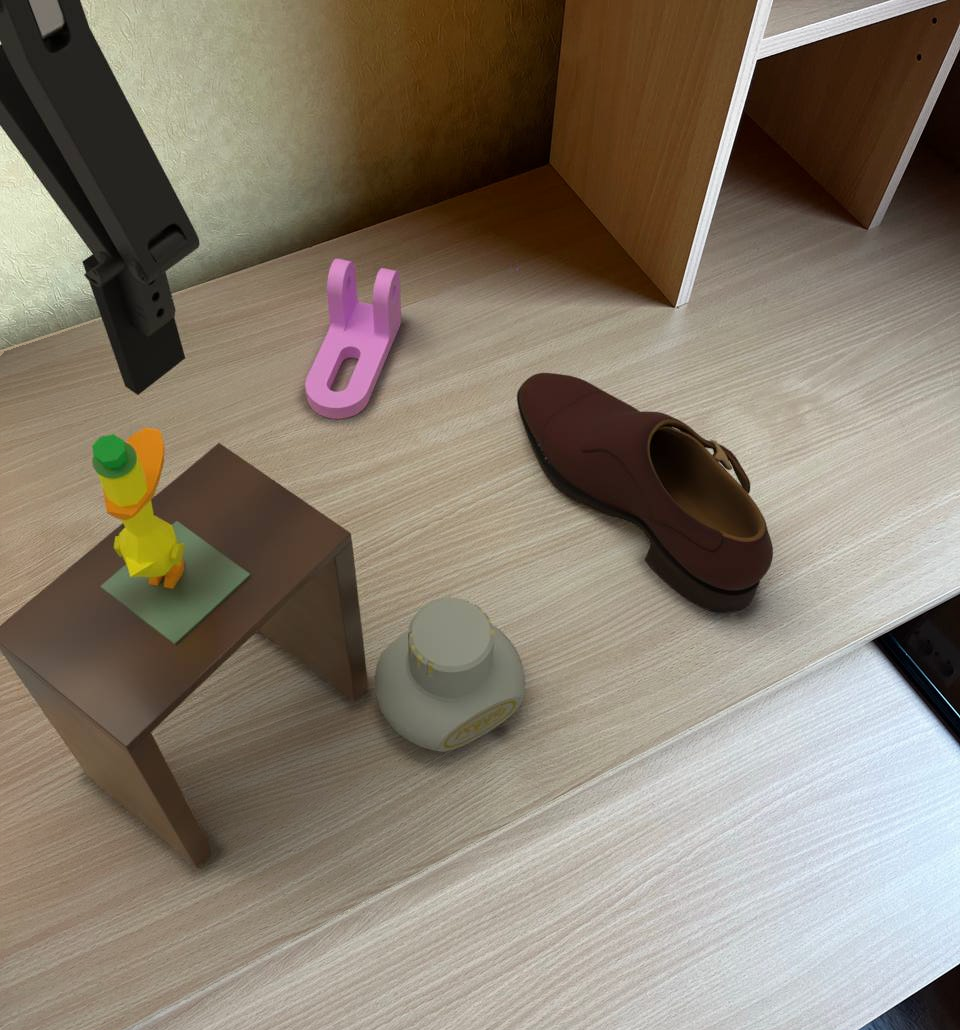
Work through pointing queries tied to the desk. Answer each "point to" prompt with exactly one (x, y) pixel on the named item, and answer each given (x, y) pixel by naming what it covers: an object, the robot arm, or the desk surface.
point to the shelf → (185, 628)
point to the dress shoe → (652, 486)
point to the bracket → (354, 340)
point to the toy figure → (138, 504)
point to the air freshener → (449, 676)
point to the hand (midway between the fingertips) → (46, 298)
